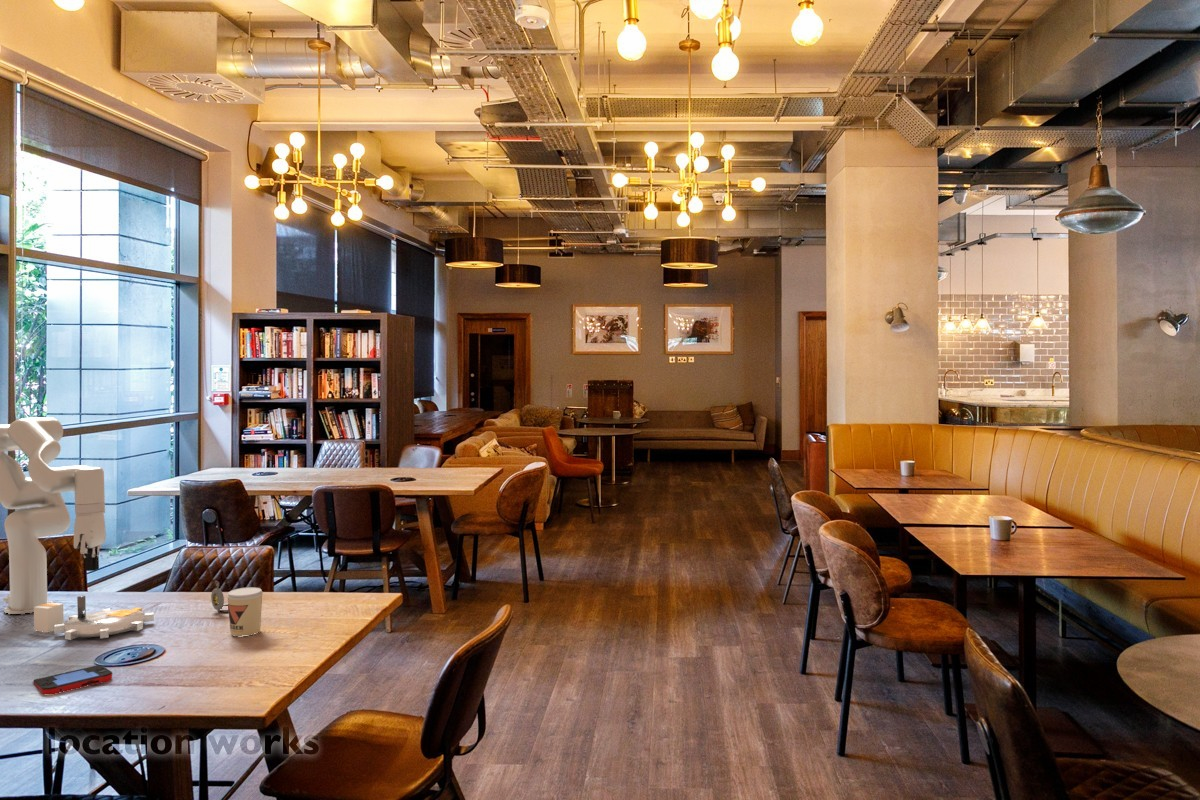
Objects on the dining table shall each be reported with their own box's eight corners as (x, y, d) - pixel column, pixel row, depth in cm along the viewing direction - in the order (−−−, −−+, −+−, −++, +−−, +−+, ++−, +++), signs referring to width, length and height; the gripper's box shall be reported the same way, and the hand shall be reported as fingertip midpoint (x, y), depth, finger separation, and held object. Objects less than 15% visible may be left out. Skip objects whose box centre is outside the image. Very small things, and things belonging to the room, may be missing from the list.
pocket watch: (244, 607, 258) (244, 576, 258) (230, 615, 249) (229, 582, 249) (220, 606, 259) (219, 575, 258) (204, 614, 250) (204, 582, 250)
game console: (100, 668, 205) (100, 660, 205) (115, 682, 196) (115, 673, 196) (32, 684, 195) (31, 675, 195) (43, 699, 186) (43, 689, 186)
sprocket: (32, 635, 226) (32, 607, 226) (106, 611, 250) (106, 585, 250) (103, 643, 220) (103, 613, 220) (172, 617, 244) (172, 590, 243)
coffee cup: (220, 635, 230) (219, 593, 230) (248, 626, 239) (247, 585, 238) (242, 640, 226) (242, 597, 226) (270, 630, 234) (269, 589, 234)
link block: (34, 631, 233) (33, 606, 233) (50, 626, 238) (49, 602, 238) (48, 632, 232) (47, 608, 232) (63, 627, 237) (63, 603, 237)
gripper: (88, 505, 249) (90, 565, 249) (63, 513, 234) (65, 576, 235) (115, 504, 250) (116, 564, 250) (91, 512, 235) (93, 575, 236)
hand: (91, 570), depth 242 cm, fingers closed
